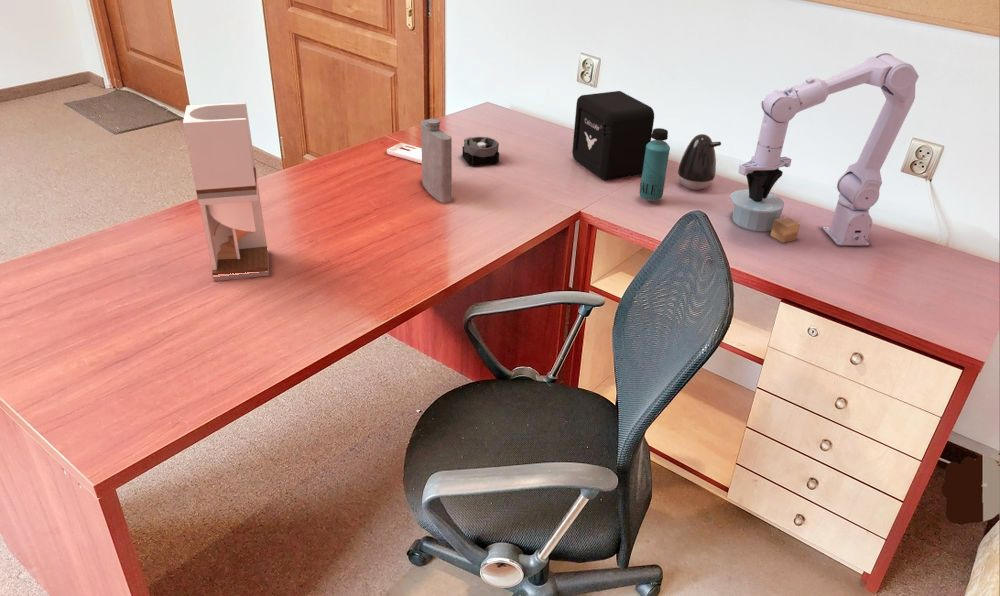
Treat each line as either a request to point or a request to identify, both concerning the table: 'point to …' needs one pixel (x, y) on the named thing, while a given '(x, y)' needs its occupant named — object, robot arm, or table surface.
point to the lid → (757, 201)
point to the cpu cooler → (480, 151)
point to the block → (785, 229)
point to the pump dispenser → (698, 163)
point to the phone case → (406, 152)
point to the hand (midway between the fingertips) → (757, 197)
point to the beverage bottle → (655, 166)
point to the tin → (755, 219)
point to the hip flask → (436, 160)
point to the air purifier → (612, 134)
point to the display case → (227, 188)
